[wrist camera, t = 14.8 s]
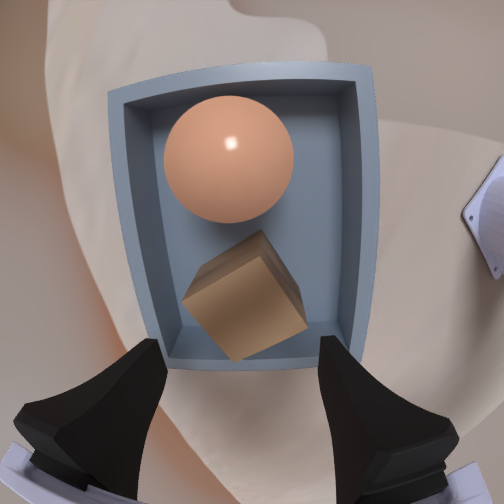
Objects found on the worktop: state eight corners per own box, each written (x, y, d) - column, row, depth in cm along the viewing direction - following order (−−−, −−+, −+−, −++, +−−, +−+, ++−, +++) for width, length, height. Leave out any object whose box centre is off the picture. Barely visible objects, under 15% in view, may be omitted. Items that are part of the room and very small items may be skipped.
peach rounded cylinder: (296, 160, 17) (320, 165, 10) (237, 211, 18) (224, 248, 11) (242, 102, 15) (231, 71, 9) (184, 155, 17) (140, 160, 10)
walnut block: (299, 287, 19) (308, 328, 15) (240, 318, 21) (233, 362, 16) (261, 228, 18) (259, 255, 13) (200, 266, 19) (180, 301, 15)
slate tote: (143, 103, 16) (107, 91, 12) (346, 85, 16) (371, 65, 11) (176, 328, 22) (159, 367, 18) (345, 322, 22) (361, 362, 17)
